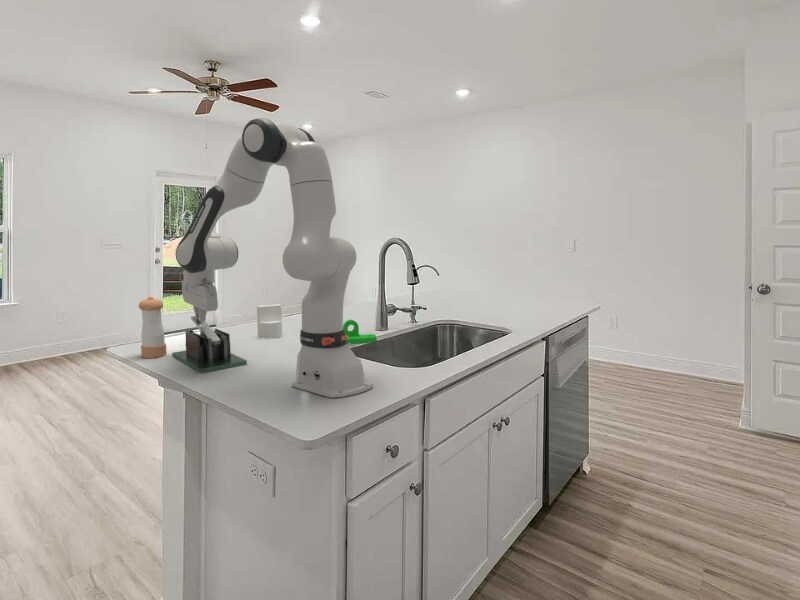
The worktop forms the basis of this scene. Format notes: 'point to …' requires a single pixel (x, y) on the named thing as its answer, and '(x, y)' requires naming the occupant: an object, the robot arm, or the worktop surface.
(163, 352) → the pepper shaker
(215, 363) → the cooling board
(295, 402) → the worktop surface
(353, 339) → the mechanical part
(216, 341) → the steel strap
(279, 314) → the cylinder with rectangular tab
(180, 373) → the worktop surface
